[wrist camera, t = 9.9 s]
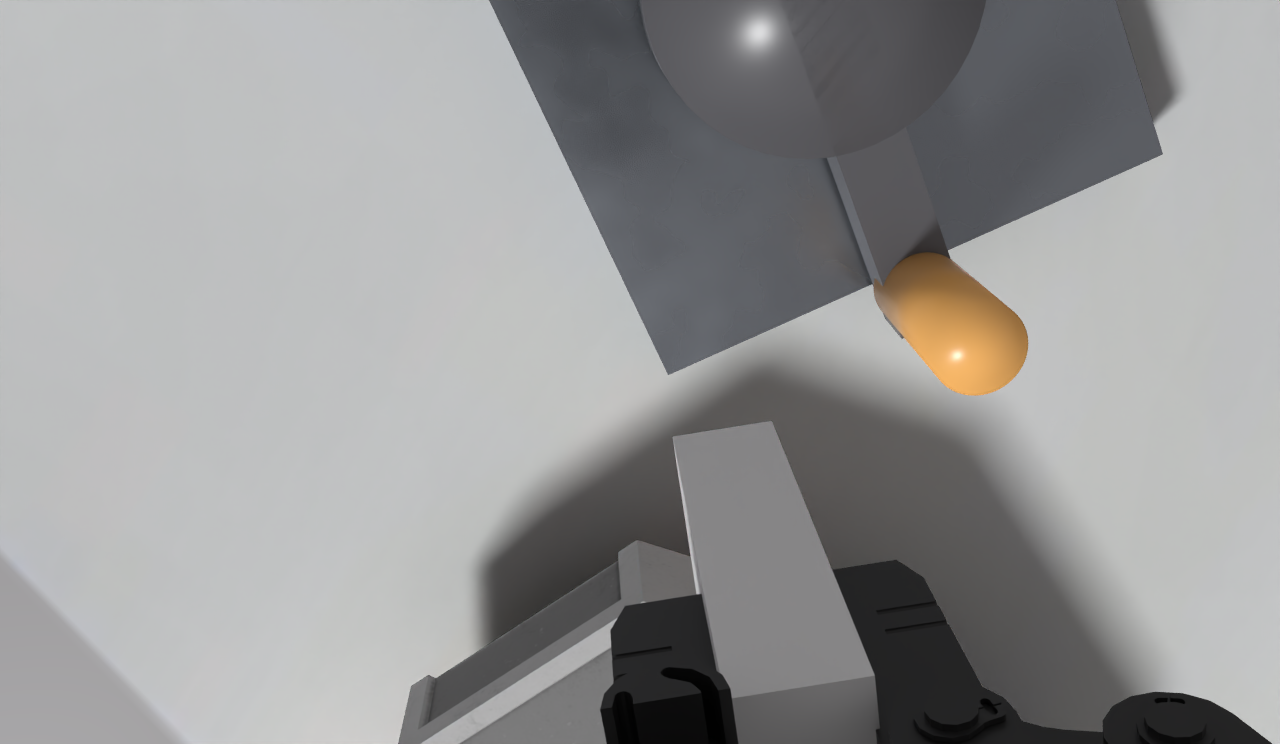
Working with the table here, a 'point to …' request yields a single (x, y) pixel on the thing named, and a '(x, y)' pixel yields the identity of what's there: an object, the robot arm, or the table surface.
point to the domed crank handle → (852, 142)
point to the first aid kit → (545, 663)
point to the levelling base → (805, 188)
